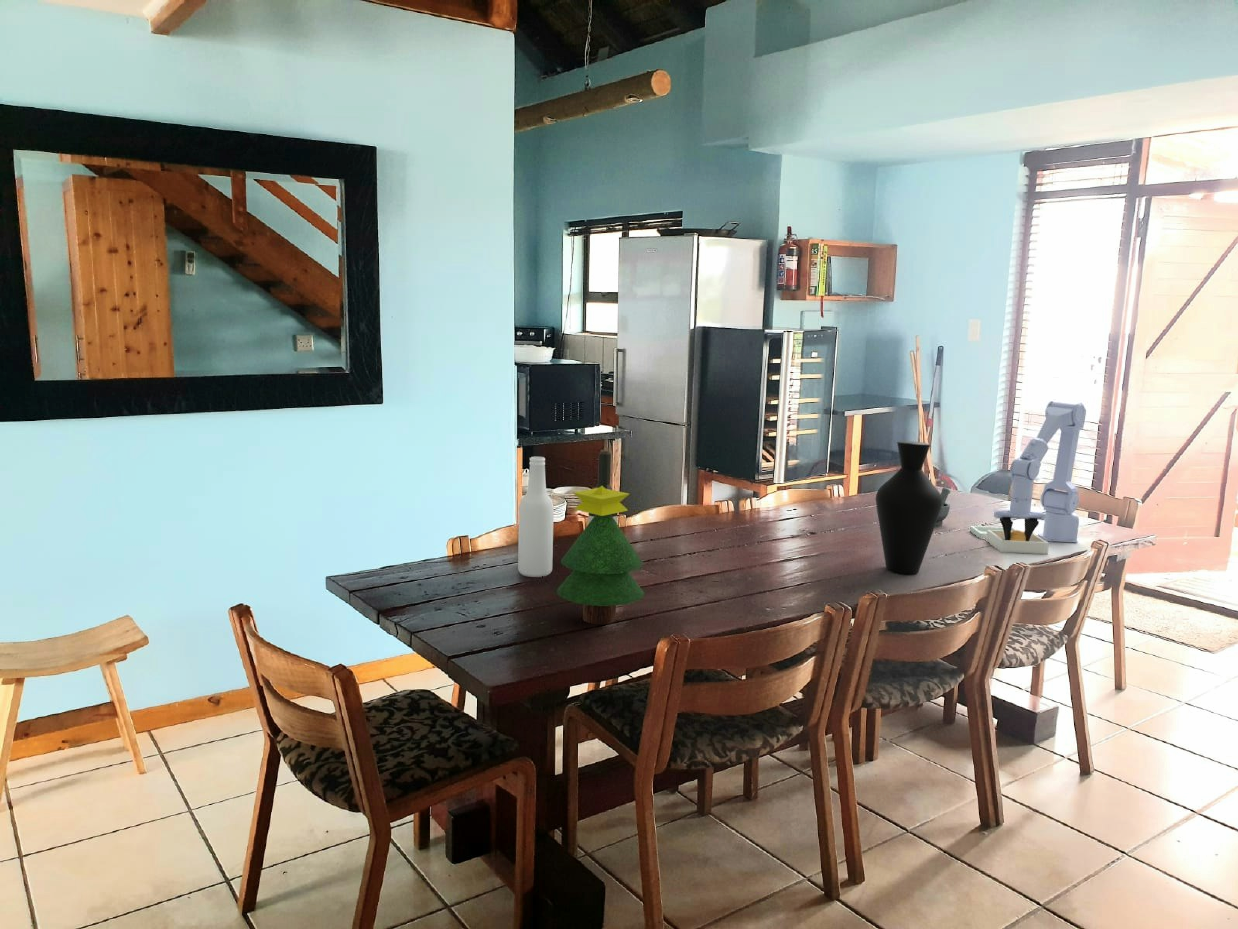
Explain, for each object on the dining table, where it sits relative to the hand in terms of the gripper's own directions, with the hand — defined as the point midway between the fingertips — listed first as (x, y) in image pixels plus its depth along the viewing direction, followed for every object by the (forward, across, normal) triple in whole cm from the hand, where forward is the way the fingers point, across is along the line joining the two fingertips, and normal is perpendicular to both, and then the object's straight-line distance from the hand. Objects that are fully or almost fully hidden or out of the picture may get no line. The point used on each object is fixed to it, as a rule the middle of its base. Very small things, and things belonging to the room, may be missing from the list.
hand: (1016, 542), depth 288 cm
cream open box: (+2, 0, 0) cm, 2 cm away
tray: (+2, -1, +14) cm, 14 cm away
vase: (+2, -42, -32) cm, 53 cm away
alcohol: (+2, -140, -52) cm, 149 cm away
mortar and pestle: (+2, -17, +28) cm, 32 cm away
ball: (-1, 0, 0) cm, 1 cm away
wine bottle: (+2, -124, -36) cm, 129 cm away
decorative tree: (+2, -121, -84) cm, 148 cm away
